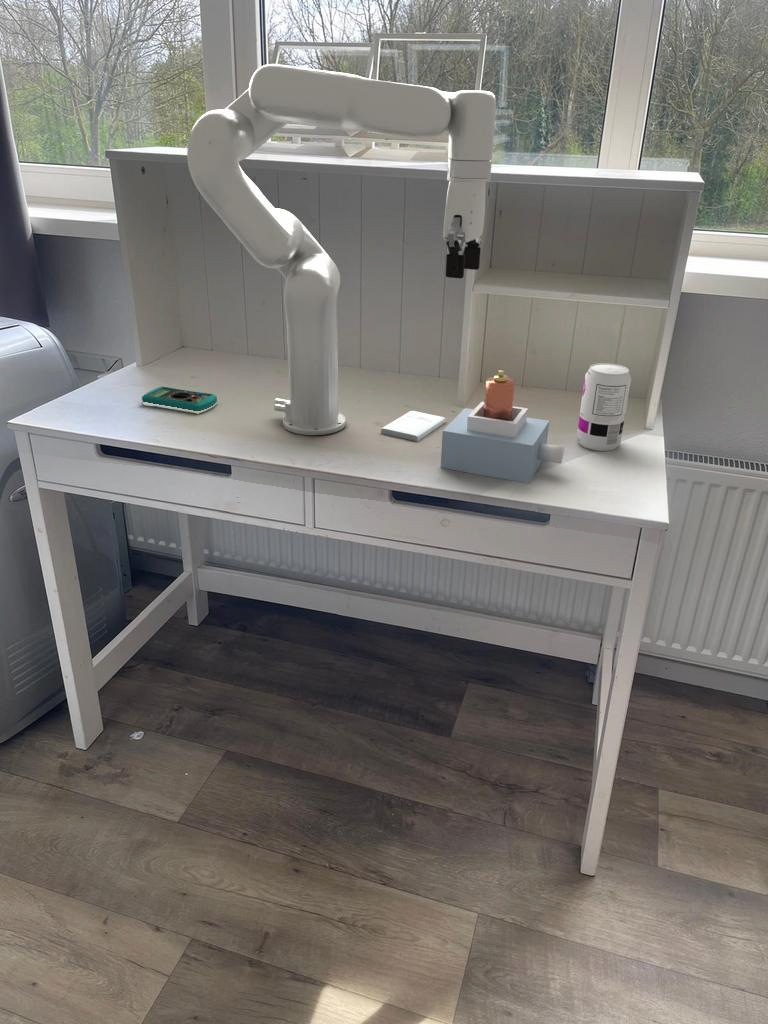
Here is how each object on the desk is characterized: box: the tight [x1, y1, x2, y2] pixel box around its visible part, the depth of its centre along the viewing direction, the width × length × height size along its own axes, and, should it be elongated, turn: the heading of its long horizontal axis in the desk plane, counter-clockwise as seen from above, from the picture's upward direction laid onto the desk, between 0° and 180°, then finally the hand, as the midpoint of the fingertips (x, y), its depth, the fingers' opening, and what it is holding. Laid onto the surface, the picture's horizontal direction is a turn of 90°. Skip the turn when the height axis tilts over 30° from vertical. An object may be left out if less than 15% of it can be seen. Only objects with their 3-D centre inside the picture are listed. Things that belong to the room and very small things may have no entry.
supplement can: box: [576, 362, 632, 452], centre depth 147 cm, size 8×8×15 cm
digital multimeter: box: [141, 385, 218, 411], centre depth 166 cm, size 7×15×3 cm, turn 69°
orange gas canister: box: [483, 369, 516, 421], centre depth 137 cm, size 5×5×10 cm
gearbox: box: [440, 401, 565, 484], centre depth 139 cm, size 20×13×10 cm, turn 67°
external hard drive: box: [380, 410, 446, 442], centre depth 157 cm, size 2×8×12 cm
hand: (462, 273), depth 143 cm, fingers open, 9 cm apart
